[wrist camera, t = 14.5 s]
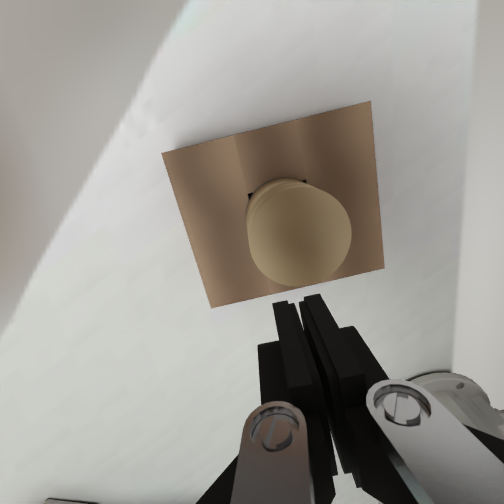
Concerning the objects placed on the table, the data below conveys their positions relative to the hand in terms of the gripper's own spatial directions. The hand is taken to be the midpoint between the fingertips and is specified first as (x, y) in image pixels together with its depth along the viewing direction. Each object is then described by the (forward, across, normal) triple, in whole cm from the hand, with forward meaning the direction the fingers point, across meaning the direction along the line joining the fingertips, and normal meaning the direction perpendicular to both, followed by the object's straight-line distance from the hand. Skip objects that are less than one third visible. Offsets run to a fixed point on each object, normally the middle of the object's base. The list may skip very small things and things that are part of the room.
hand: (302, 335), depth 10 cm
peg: (+15, -1, -2) cm, 15 cm away
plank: (+16, -1, -2) cm, 16 cm away
